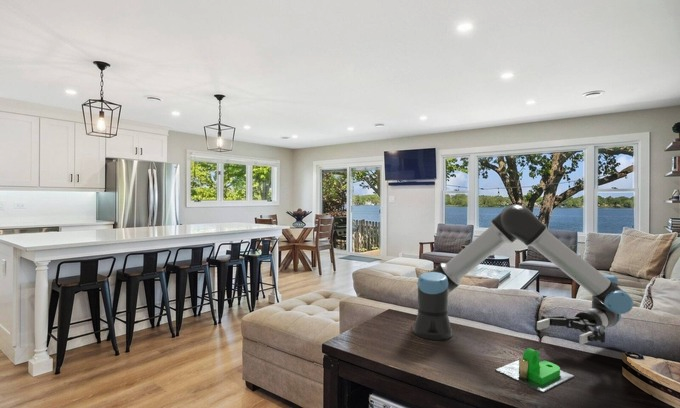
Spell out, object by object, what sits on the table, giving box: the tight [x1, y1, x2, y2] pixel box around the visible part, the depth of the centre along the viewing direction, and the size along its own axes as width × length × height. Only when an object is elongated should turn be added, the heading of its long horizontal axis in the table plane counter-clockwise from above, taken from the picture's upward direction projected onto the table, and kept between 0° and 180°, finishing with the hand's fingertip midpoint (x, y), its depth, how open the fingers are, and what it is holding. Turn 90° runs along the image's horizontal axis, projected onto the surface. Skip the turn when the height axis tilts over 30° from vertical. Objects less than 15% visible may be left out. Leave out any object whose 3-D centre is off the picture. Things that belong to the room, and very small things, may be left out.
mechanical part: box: [522, 347, 561, 385], centre depth 111 cm, size 12×6×8 cm, turn 121°
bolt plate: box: [495, 358, 575, 393], centre depth 113 cm, size 15×17×6 cm
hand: (558, 332), depth 119 cm, fingers open, 13 cm apart
